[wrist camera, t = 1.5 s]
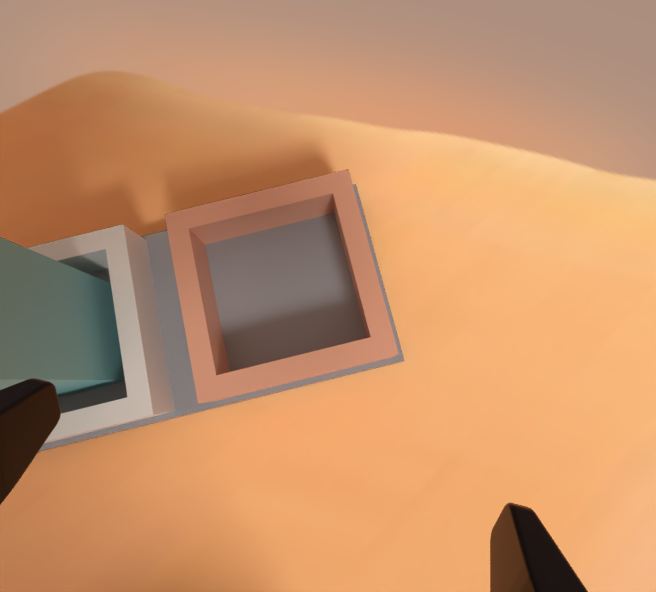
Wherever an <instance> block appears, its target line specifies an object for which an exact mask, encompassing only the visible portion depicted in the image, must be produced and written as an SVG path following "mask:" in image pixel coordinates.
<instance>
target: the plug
mask: <svg viewBox="0 0 656 592" xmlns="http://www.w3.org/2000/svg"><path fill="white" fill-rule="evenodd" d="M31 378H37V379H41V380H45V381H49V382H51V383H53V384H54V385H55V388H56V392H57V396H58V398H60V397H64V396H68V395H72V394H76V393H80V392H84V391H88V390H92V389H96V388H100V387H104V386H108V385H112V384H116V383H121V382H125V376H124V370H123V363H122V356H121V349H120V343H119V336H118V329H117V322H116V315H115V309H114V302H113V295H112V288H111V283H109V282H106V281H104V280H101V279H99V278H97V277H94V276H92V275H89V274H87V273H85V272H82V271H80V270H78V269H75V268H73V267H70V266H68V265H66V264H63V263H61V262H58V261H56V260H54V259H51V258H49V257H47V256H44V255H42V254H39V253H37V252H35V251H32V250H30V249H27V248H25V247H23V246H20V245H18V244H15V243H13V242H11V241H8V240H6V239H4V238H1V237H0V390H1V389H4V388H7V387H9V386H12V385H14V384H17V383H20V382H22V381H25V380H28V379H31Z"/></svg>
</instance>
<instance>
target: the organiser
mask: <svg viewBox="0 0 656 592" xmlns="http://www.w3.org/2000/svg"><path fill="white" fill-rule="evenodd" d="M164 215H165V221H166V226H167V230H166V231H162V232H158V233H154V234H150V235H146V236H142V237H141V236H139V235H138V234H137V233H135V232H134V231H132V230H131V229H129V228H128V227H127V226H125V225H124V224H122V225H118V226H114V227H110V228H106V229H102V230H97V231H93V232H89V233H85V234H81V235H77V236H73V237H69V238H65V239H61V240H57V241H52V242H48V243H44V244H40V245H36V246H32V247H28V248H27V249H30V250H32V251H35V252H37V253H39V254H42V255H44V256H47V257H49V258H51V259H54V260H56V261H58V262H61V263H63V264H66V265H68V266H70V267H73V268H75V269H78V270H80V271H82V272H85V273H87V274H89V275H92V276H94V277H97V278H99V279H101V280H104V281H106V282H109V283H111V288H112V295H113V302H114V309H115V315H116V322H117V329H118V336H119V343H120V349H121V356H122V363H123V370H124V376H125V382H121V383H116V384H112V385H108V386H104V387H100V388H96V389H92V390H88V391H84V392H80V393H76V394H72V395H68V396H64V397H60V398H58V400H59V404H60V409H61V416H60V419H59V421H58V423H57V425H56V427H55V428H54V430H53V431H52V432H51V434H50V435H49V437H48V438H47V440H46V441H45V443H44V444H43V446H42V447H41V449H40V450H39V451H43V450H47V449H51V448H55V447H59V446H63V445H67V444H71V443H75V442H79V441H83V440H87V439H91V438H95V437H99V436H103V435H107V434H111V433H116V432H120V431H124V430H128V429H132V428H136V427H140V426H144V425H148V424H152V423H156V422H160V421H164V420H168V419H172V418H176V417H180V416H184V415H188V414H192V413H196V412H200V411H204V410H208V409H212V408H216V407H220V406H224V405H229V404H233V403H237V402H241V401H245V400H249V399H253V398H257V397H261V396H265V395H269V394H273V393H277V392H281V391H285V390H289V389H293V388H297V387H301V386H305V385H309V384H313V383H317V382H321V381H325V380H329V379H333V378H338V377H342V376H346V375H350V374H354V373H358V372H362V371H366V370H370V369H374V368H378V367H382V366H386V365H390V364H394V363H398V362H402V361H404V357H403V354H402V350H401V346H400V343H399V339H398V336H397V332H396V328H395V325H394V321H393V317H392V314H391V310H390V306H389V303H388V299H387V296H386V292H385V288H384V285H383V281H382V277H381V274H380V270H379V267H378V263H377V259H376V256H375V252H374V248H373V245H372V241H371V237H370V234H369V230H368V227H367V223H366V219H365V216H364V212H363V208H362V205H361V201H360V197H359V194H358V190H357V187H356V184H354V185H353V184H352V181H351V177H350V174H349V170H348V169H347V170H343V171H339V172H335V173H330V174H326V175H322V176H318V177H314V178H310V179H306V180H302V181H298V182H294V183H290V184H286V185H281V186H277V187H273V188H269V189H265V190H261V191H257V192H253V193H249V194H245V195H241V196H236V197H232V198H228V199H224V200H220V201H216V202H212V203H208V204H204V205H200V206H196V207H191V208H187V209H183V210H179V211H175V212H171V213H167V214H164ZM39 451H38V452H39Z"/></svg>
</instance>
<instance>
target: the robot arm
mask: <svg viewBox="0 0 656 592" xmlns="http://www.w3.org/2000/svg"><path fill="white" fill-rule="evenodd" d="M60 416H61V409H60V404H59V400H58V396H57V392H56V388H55V385H54V384H53V383H51V382H49V381H45V380H41V379H37V378H31V379H28V380H25V381H22V382H20V383H17V384H14V385H12V386H9V387H7V388H4V389H1V390H0V504H1V503H2V502H3V501H4V499H5V498H6V497H7V496H8V494H9V493H10V492H11V490H12V489H13V488H14V486H15V485H16V483H17V482H18V481H19V479H20V478H21V476H22V475H23V473H24V472H25V471H26V469H27V468H28V466H29V465H30V463H31V462H32V460H33V459H34V457H35V456H36V454H37V453H38V451H39V450H40V449H41V447H42V446H43V444H44V443H45V441H46V440H47V438H48V437H49V435H50V434H51V432H52V431H53V430H54V428H55V427H56V425H57V423H58V421H59V419H60ZM490 592H588V591H587V590H586V588H585V587H584V585H583V584H582V582H581V581H580V579H579V578H578V576H577V575H576V573H575V572H574V570H573V569H572V567H571V566H570V564H569V563H568V561H567V560H566V558H565V557H564V555H563V554H562V552H561V551H560V549H559V548H558V546H557V545H556V543H555V542H554V540H553V539H552V537H551V536H550V534H549V533H548V531H547V530H546V528H545V527H544V525H543V524H542V522H541V521H540V519H539V518H538V516H537V515H536V513H535V512H534V511H533V510H532V509H531V508H529V507H526V506H522V505H518V504H514V503H508V504H506V505H505V507H504V509H503V510H502V512H501V514H500V516H499V518H498V520H497V522H496V523H495V525H494V527H493V529H492V533H491V540H490Z"/></svg>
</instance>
